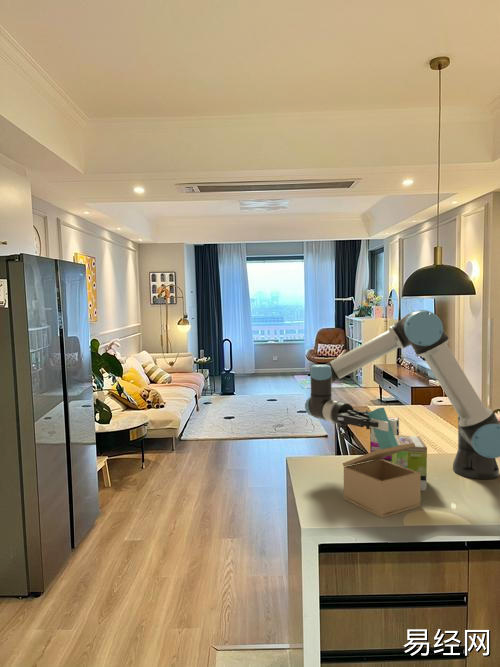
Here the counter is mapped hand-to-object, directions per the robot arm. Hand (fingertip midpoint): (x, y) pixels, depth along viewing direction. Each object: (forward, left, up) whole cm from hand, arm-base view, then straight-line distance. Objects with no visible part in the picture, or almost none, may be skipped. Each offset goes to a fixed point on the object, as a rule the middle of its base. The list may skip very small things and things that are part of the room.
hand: (391, 426), depth 133 cm
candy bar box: (-12, -48, -25) cm, 56 cm away
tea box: (-12, -20, -25) cm, 34 cm away
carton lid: (+3, -4, -10) cm, 12 cm away
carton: (+2, -3, -24) cm, 25 cm away
